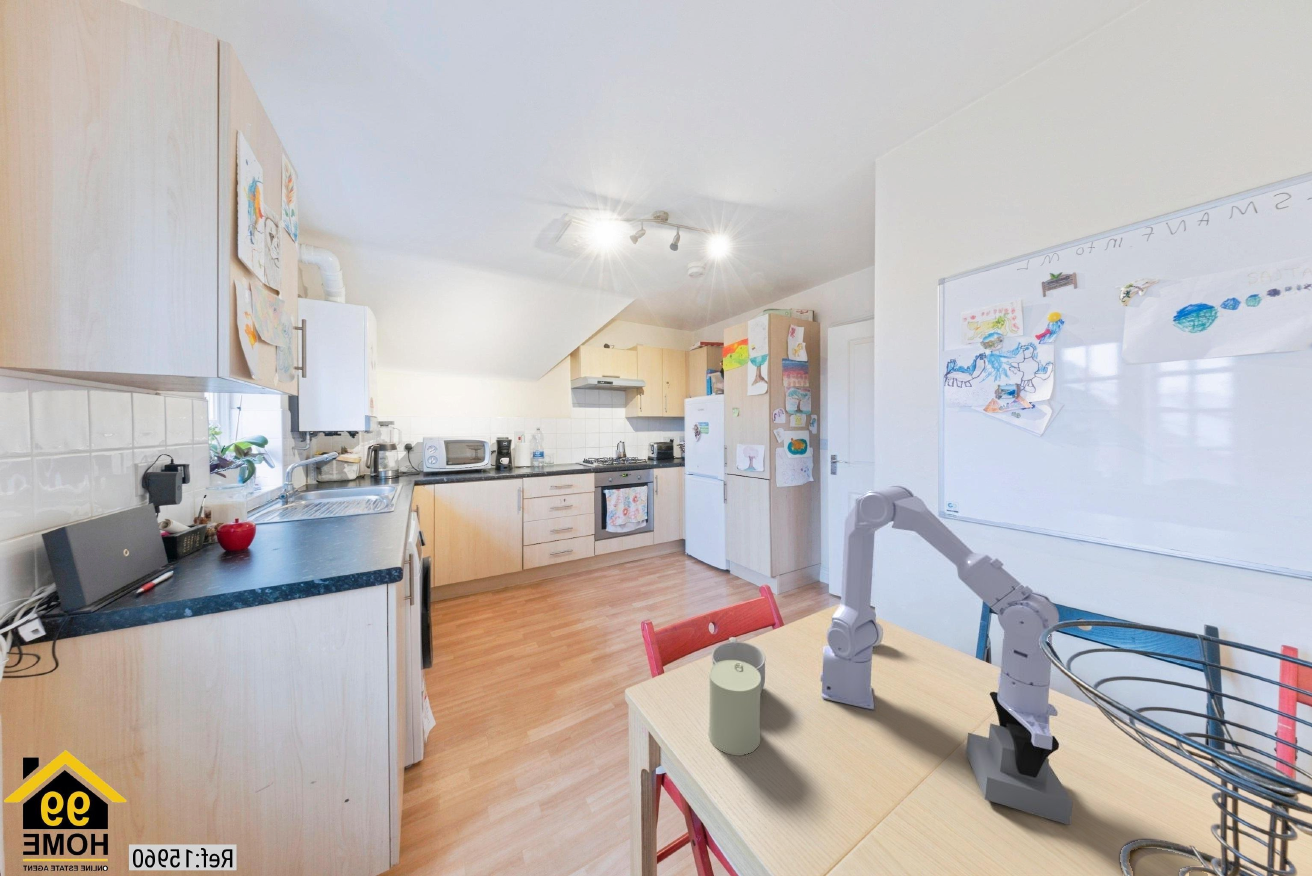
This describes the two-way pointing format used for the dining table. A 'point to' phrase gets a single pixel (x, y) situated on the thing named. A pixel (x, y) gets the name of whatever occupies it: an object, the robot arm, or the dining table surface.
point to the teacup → (741, 655)
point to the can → (734, 707)
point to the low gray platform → (1015, 777)
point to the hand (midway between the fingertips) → (1018, 758)
